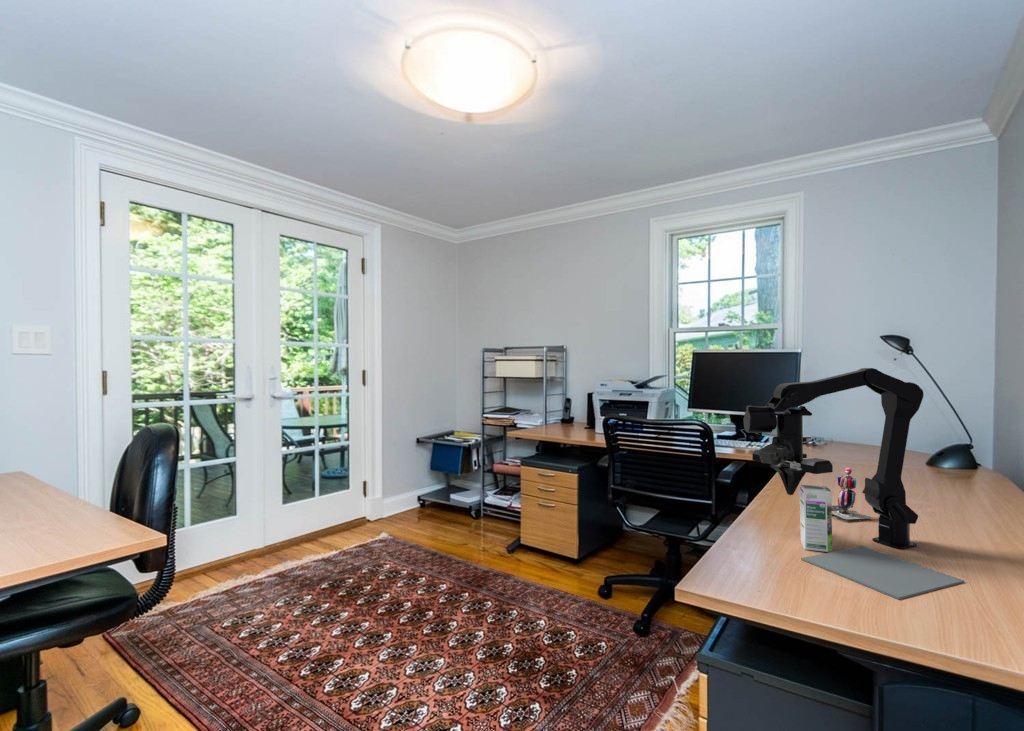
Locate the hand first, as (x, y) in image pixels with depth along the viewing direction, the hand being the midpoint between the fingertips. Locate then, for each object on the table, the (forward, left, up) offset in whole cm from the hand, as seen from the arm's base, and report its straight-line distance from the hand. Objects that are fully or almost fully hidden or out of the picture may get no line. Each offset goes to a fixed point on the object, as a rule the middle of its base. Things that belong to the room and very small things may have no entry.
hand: (790, 494), depth 123 cm
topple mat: (0, +21, -11) cm, 24 cm away
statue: (-30, -8, -11) cm, 33 cm away
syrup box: (0, +7, -11) cm, 13 cm away
